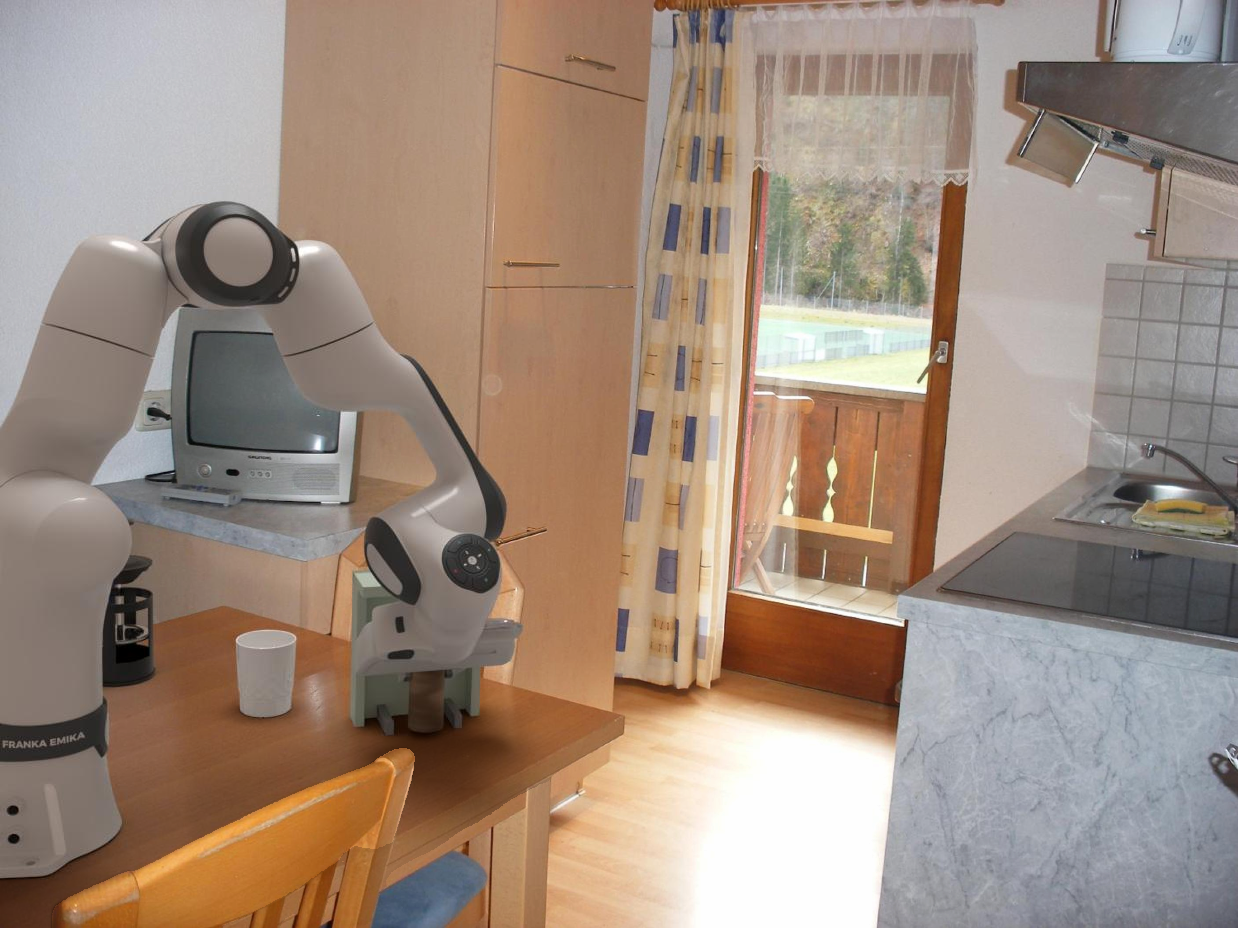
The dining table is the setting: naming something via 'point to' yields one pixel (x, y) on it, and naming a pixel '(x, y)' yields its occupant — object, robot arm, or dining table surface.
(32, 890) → the dining table surface
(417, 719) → the pepper mill
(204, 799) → the dining table surface
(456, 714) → the shelf
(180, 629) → the dining table surface
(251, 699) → the white cup
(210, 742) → the dining table surface
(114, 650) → the french press
